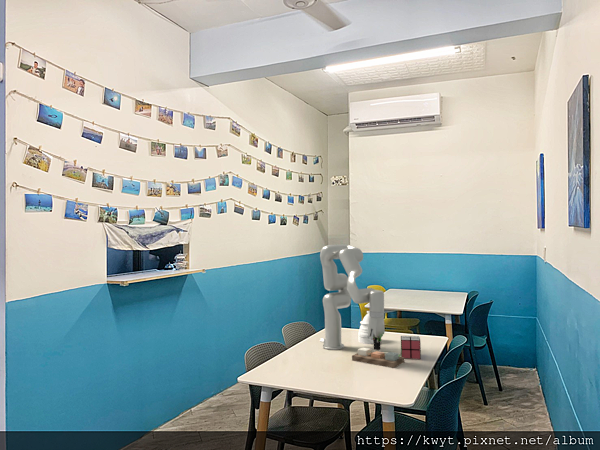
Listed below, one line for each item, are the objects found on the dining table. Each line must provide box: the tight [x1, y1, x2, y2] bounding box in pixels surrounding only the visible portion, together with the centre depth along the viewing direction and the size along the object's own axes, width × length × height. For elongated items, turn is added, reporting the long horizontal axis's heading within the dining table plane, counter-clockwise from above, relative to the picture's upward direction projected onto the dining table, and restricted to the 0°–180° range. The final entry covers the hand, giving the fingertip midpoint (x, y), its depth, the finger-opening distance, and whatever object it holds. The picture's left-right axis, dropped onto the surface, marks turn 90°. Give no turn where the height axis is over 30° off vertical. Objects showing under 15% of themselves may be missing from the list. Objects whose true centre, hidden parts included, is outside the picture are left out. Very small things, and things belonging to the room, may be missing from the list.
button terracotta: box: [371, 350, 385, 359], centre depth 237 cm, size 5×5×3 cm
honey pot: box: [357, 310, 374, 345], centre depth 280 cm, size 13×13×18 cm
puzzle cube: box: [400, 335, 422, 360], centre depth 245 cm, size 10×10×10 cm
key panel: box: [351, 351, 405, 369], centre depth 237 cm, size 24×12×2 cm, turn 52°
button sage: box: [384, 351, 400, 361], centre depth 232 cm, size 5×5×3 cm
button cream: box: [357, 347, 372, 356], centre depth 242 cm, size 5×5×3 cm
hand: (377, 349), depth 238 cm, fingers closed
